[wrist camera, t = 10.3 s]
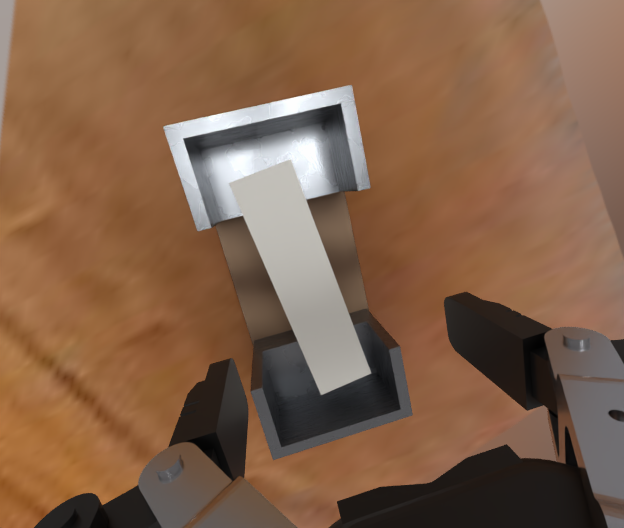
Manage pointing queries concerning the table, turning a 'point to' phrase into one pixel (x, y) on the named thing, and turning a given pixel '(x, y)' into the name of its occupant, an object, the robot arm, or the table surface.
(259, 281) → the plank
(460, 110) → the table surface
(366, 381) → the grey boxes
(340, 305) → the block
